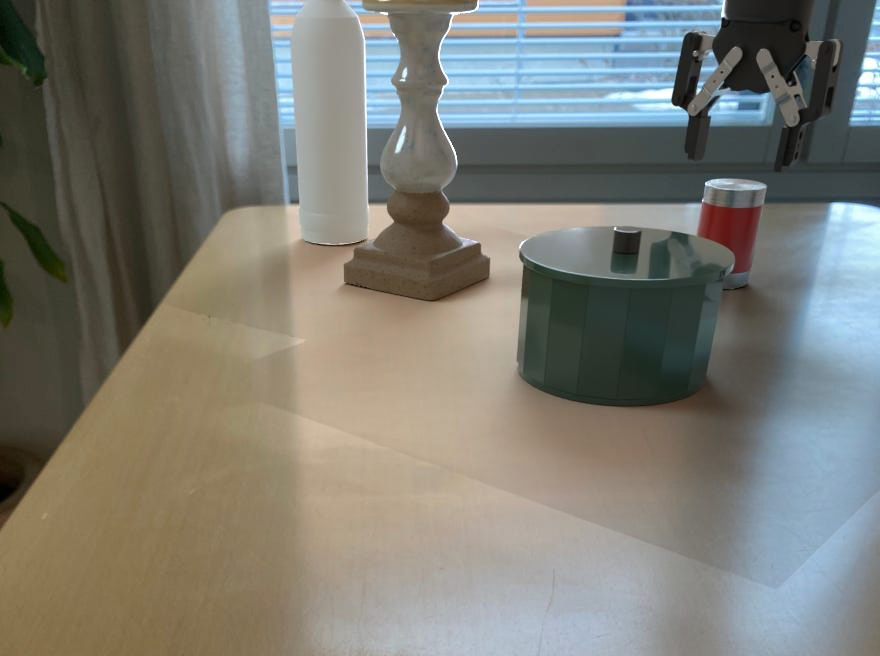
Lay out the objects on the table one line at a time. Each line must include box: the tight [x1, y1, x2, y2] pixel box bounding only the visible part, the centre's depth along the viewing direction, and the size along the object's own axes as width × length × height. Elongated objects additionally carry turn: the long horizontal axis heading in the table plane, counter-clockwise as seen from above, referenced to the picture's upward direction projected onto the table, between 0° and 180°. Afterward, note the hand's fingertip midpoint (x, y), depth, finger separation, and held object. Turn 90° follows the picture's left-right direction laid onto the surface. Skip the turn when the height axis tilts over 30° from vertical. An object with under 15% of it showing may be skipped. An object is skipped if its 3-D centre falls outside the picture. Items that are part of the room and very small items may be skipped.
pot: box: [516, 263, 725, 407], centre depth 75 cm, size 15×15×8 cm
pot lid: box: [518, 225, 735, 289], centre depth 72 cm, size 16×16×3 cm
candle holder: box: [343, 0, 491, 301], centre depth 91 cm, size 11×11×24 cm
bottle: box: [289, 0, 370, 244], centre depth 104 cm, size 8×8×30 cm
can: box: [695, 178, 768, 290], centre depth 95 cm, size 6×6×9 cm
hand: (737, 165), depth 91 cm, fingers open, 8 cm apart
